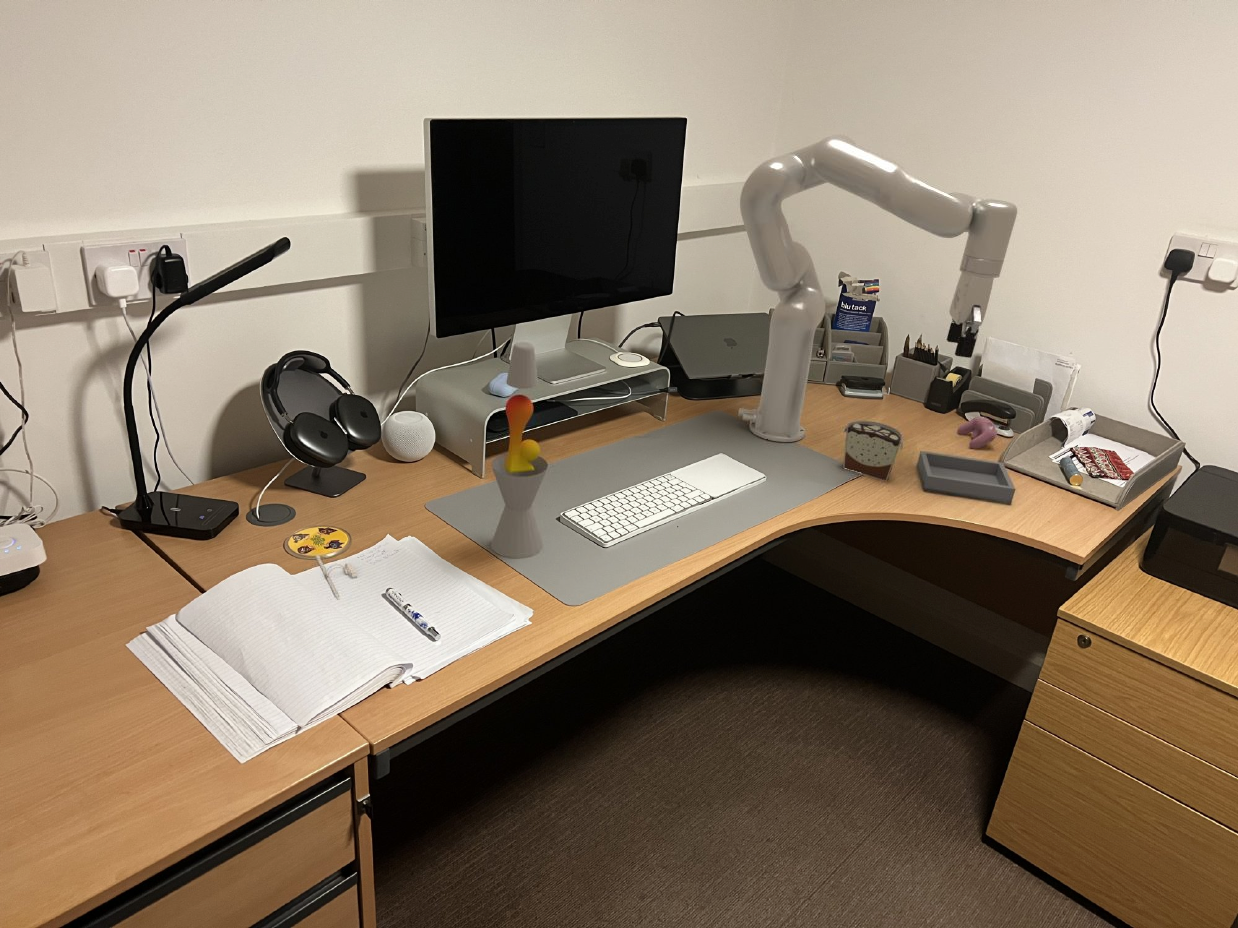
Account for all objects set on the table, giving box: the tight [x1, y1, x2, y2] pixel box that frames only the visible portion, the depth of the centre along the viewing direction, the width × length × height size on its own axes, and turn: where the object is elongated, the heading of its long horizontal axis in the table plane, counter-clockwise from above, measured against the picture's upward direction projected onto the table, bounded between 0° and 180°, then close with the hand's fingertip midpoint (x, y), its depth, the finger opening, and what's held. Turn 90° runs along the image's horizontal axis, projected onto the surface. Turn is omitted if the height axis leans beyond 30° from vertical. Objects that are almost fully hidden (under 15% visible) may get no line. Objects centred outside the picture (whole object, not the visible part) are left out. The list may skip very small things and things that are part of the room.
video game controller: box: [956, 415, 998, 450], centre depth 204 cm, size 10×5×7 cm, turn 179°
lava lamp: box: [490, 341, 549, 559], centre depth 140 cm, size 9×9×35 cm
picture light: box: [315, 555, 358, 601], centre depth 135 cm, size 14×4×2 cm, turn 30°
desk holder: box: [916, 450, 1016, 505], centre depth 182 cm, size 17×13×4 cm
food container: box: [842, 420, 904, 483], centre depth 184 cm, size 12×6×10 cm, turn 58°
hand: (958, 349), depth 179 cm, fingers open, 9 cm apart
